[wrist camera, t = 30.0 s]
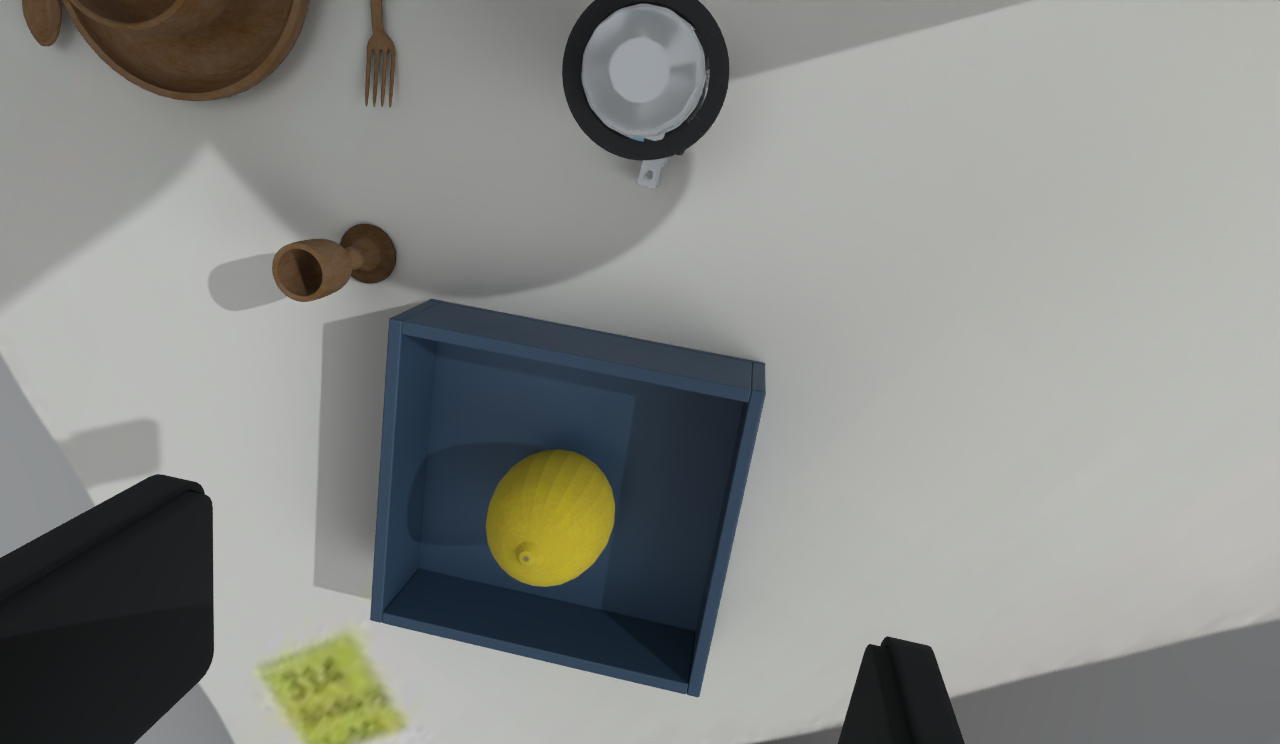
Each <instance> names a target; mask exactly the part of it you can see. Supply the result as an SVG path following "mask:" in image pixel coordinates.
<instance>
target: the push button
mask: <svg viewBox="0 0 1280 744" xmlns="http://www.w3.org/2000/svg"><path fill="white" fill-rule="evenodd" d="M682 18H683V19H684V20H683V19H682ZM685 20H686V21H687V22H688V23H690V24H691V25H692V26H693V27H694V28H695V29H696V30H694V29H692V27H691V26H690V25H689V24H688V23H687V22H686V21H685ZM709 68H710V80H709V86H708V87H706V79H705V78H706V73H705V72H706V71H707V70H708V69H709ZM562 76H563V86H564V92H565V96H566V100H567V103H568V105H569V108H570V111H571V113H572V115H573V117H574V118H575V120H576V122H577V123H578V125H579V126H580V128H581V129H582V130H583V131H584V133H585V134H586V135H587V136H588V137H589V138H590V139H591V140H592V141H594V142H595V143H596V144H597V145H599V146H600V147H602V148H603V149H605V150H606V151H608V152H610V153H612V154H615V155H617V156H620V157H623V158H627V159H633V160H643V162H642V165H641V169H640V172H639V176H638V179H637V184H638V185H641V186H644V187H647V188H651V189H653V188H655V187H657V186H658V182H659V179H660V175H661V172H662V168H663V165H665V164H666V165H667V163H668V160H669V156H673V155H675V154H677V155H683V153H684V150H685V149H687V148H689V147H690V146H691V145H693V144H694V143H696V142H697V141H698V140H699V139H700V138H701V137H702V136H703V135H704V134H705V133H706V132H707V131H708V130H709V128H710V127H711V126H712V124H713V123H714V121H715V120H716V118H717V116H718V114H719V112H720V110H721V108H722V106H723V103H724V100H725V97H726V93H727V89H728V82H729V58H728V52H727V48H726V44H725V41H724V38H723V35H722V33H721V30H720V28H719V26H718V24H717V23H716V21H715V19H714V18H713V16H712V15H711V13H710V12H709V11H708V10H707V9H706V7H705V6H704V5H703V4H702V3H701V2H699V1H698V0H595V1H594V2H593V3H591V4H590V5H589V6H588V7H587V9H586V10H585V11H584V12H583V13H582V15H581V16H580V17H579V19H578V20H577V22H576V24H575V25H574V27H573V29H572V31H571V33H570V36H569V38H568V41H567V44H566V48H565V52H564V57H563V69H562ZM694 116H695V117H694ZM693 117H694V118H693ZM692 118H693V119H692ZM691 119H692V120H691ZM620 133H622V134H624V135H626V136H629V137H631V139H630V138H628V137H626V136H624V135H622V134H620ZM649 170H650V171H652V173H653V177H652V179H649V178H648V177H647V172H648V171H649Z"/></svg>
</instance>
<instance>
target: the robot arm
mask: <svg viewBox="0 0 1280 744" xmlns="http://www.w3.org/2000/svg"><path fill="white" fill-rule="evenodd" d="M213 653H214V616H213V507H212V501H211V499H210V497H208V496H207V495H205V493H204V490H203V488H202V486H201V485H200V484H198V483H197V482H193V481H188V480H184V479H179V478H175V477H170V476H166V475H159V474H156V475H153V476H151V477H148V478H147V479H145V480H143V481H141V482H139V483H137V484H136V485H134V486H132V487H130V488H128V489H126V490H125V491H123V492H121V493H119V494H117V495H115V496H114V497H112V498H110V499H108V500H106V501H104V502H102V503H101V504H99V505H97V506H95V507H93V508H92V509H90V510H88V511H86V512H85V513H82V514H80V515H79V516H77V517H75V518H73V519H71V520H69V521H68V522H66V523H64V524H62V525H60V526H58V527H56V528H55V529H53V530H51V531H49V532H47V533H45V534H44V535H42V536H40V537H38V538H36V539H34V540H33V541H31V542H29V543H27V544H25V545H23V546H21V547H20V548H18V549H16V550H14V551H12V552H10V553H9V554H7V555H5V556H3V557H1V558H0V744H134V743H135V742H136V741H137V740H138V739H139V738H140V737H141V736H142V735H143V734H144V733H146V732H147V730H149V729H150V728H151V727H152V726H153V725H154V724H155V723H156V722H157V721H158V720H159V719H160V718H161V717H162V716H163V715H164V714H165V713H166V712H168V711H169V710H170V709H171V708H172V707H173V706H174V705H175V704H176V703H177V702H178V701H179V700H180V699H181V698H182V697H183V696H184V695H185V694H186V693H187V692H188V691H190V690H191V689H192V688H193V687H194V685H196V684H197V683H198V682H199V681H200V680H201V679H202V678H203V676H204V675H205V674H206V672H207V671H208V669H209V667H210V664H211V662H212V658H213ZM838 744H965V743H964V740H963V738H962V734H961V731H960V729H959V726H958V723H957V720H956V717H955V714H954V711H953V708H952V705H951V702H950V699H949V696H948V693H947V690H946V687H945V684H944V681H943V678H942V675H941V672H940V670H939V667H938V664H937V661H936V658H935V655H934V652H933V650H932V648H931V647H930V646H928V645H923V644H919V643H914V642H910V641H905V640H901V639H896V638H892V637H886V638H884V640H883V641H882V643H881V646H876V645H872V644H869V645H868V646H867V648H866V650H865V652H864V655H863V659H862V662H861V666H860V669H859V673H858V676H857V680H856V683H855V686H854V690H853V693H852V697H851V700H850V704H849V707H848V711H847V714H846V717H845V721H844V724H843V728H842V731H841V735H840V738H839V742H838Z"/></svg>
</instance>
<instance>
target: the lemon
mask: <svg viewBox="0 0 1280 744" xmlns="http://www.w3.org/2000/svg"><path fill="white" fill-rule="evenodd" d="M614 516H615V502H614V497H613V492H612V488H611V486H610V484H609V482H608V480H607V478H606V476H605V474H604V473H603V472H602V471H601V470H600V468H599V467H598V466H597V465H596V464H595V463H593V462H592V461H591V460H589V459H588V458H587V457H585V456H583V455H580V454H578V453H576V452H573V451H568V450H562V449H554V450H544V451H541V452H538V453H535V454H532V455H529V456H528V457H526V458H524V459H523V460H521V461H520V462H518V463H517V464H515V465H514V466H513V467H512V468H511V469H510V470H509V471H508V472H507V474H506V475H505V476H504V477H503V478H502V479H501V481H500V482H499V483H498V485H497V487H496V489H495V492H494V494H493V496H492V498H491V501H490V504H489V507H488V513H487V520H486V533H487V541H488V545H489V548H490V550H491V553H492V555H493V557H494V558H495V560H496V561H497V563H498V564H499V566H500V567H501V568H502V569H503V570H504V571H505V572H506V573H507V574H509V575H510V576H511V577H513V578H515V579H516V580H518V581H520V582H522V583H526V584H529V585H532V586H542V587H549V586H555V585H561V584H563V583H565V582H568V581H570V580H572V579H575V578H576V577H578V576H579V575H580V574H582V573H583V572H584V571H585V570H587V569H588V568H589V567H590V566H591V565H592V564H593V563H594V562H595V561H596V560H597V558H598V557H599V555H600V554H601V553H602V551H603V550H604V548H605V547H606V545H607V543H608V540H609V537H610V534H611V532H612V529H613V526H614Z"/></svg>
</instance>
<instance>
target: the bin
mask: <svg viewBox="0 0 1280 744" xmlns="http://www.w3.org/2000/svg"><path fill="white" fill-rule="evenodd" d="M765 394H766V388H765V363H761V362H756V361H751V360H746V359H741V358H735V357H730V356H725V355H720V354H715V353H709V352H704V351H699V350H694V349H689V348H683V347H678V346H673V345H668V344H663V343H657V342H652V341H647V340H642V339H637V338H632V337H626V336H621V335H616V334H611V333H606V332H600V331H595V330H590V329H585V328H580V327H574V326H569V325H564V324H559V323H554V322H549V321H543V320H538V319H533V318H528V317H523V316H517V315H512V314H507V313H502V312H497V311H491V310H486V309H481V308H476V307H471V306H465V305H460V304H455V303H450V302H445V301H440V300H434V299H430V300H429V301H426V302H424V303H422V304H420V305H418V306H416V307H414V308H411V309H409V310H407V311H405V312H403V313H401V314H399V315H396V316H394V317H392V318H390V319H389V332H388V348H387V364H386V380H385V396H384V411H383V427H382V443H381V459H380V474H379V490H378V506H377V522H376V538H375V553H374V569H373V585H372V601H371V617H370V620H372V621H376V622H382V623H385V624H389V625H393V626H397V627H402V628H406V629H410V630H414V631H419V632H423V633H427V634H431V635H436V636H440V637H444V638H448V639H453V640H457V641H461V642H465V643H470V644H474V645H478V646H482V647H487V648H491V649H495V650H499V651H504V652H508V653H512V654H516V655H521V656H525V657H529V658H533V659H538V660H542V661H546V662H550V663H555V664H559V665H563V666H567V667H572V668H576V669H580V670H584V671H589V672H593V673H597V674H601V675H606V676H610V677H614V678H618V679H623V680H627V681H631V682H635V683H639V684H644V685H648V686H652V687H656V688H661V689H665V690H669V691H673V692H678V693H682V694H686V693H687V695H690V696H695V697H699V696H700V691H701V686H702V682H703V677H704V673H705V668H706V664H707V659H708V655H709V650H710V645H711V641H712V636H713V632H714V627H715V623H716V618H717V613H718V609H719V604H720V600H721V595H722V591H723V586H724V581H725V577H726V572H727V568H728V563H729V559H730V554H731V549H732V545H733V540H734V536H735V531H736V527H737V522H738V517H739V513H740V508H741V504H742V499H743V495H744V490H745V485H746V481H747V476H748V472H749V467H750V463H751V458H752V453H753V449H754V444H755V440H756V435H757V431H758V426H759V422H760V417H761V412H762V408H763V403H764V399H765ZM554 449H562V450H568V451H573V452H576V453H578V454H580V455H583V456H585V457H587V458H588V459H589V460H591V461H592V462H593V463H595V464H596V465H597V466H598V467H599V468H600V470H601V471H602V472H603V473H604V474H605V476H606V478H607V480H608V482H609V484H610V486H611V488H612V492H613V497H614V502H615V516H614V526H613V529H612V532H611V534H610V537H609V540H608V543H607V545H606V547H605V548H604V550H603V551H602V553H601V554H600V555H599V557H598V558H597V560H596V561H595V562H594V563H593V564H592V565H591V566H590V567H589V568H588V569H587V570H585V571H584V572H583V573H582V574H580V575H579V576H578V577H576V578H575V579H572V580H570V581H568V582H565V583H563V584H561V585H555V586H549V587H542V586H532V585H529V584H526V583H522V582H520V581H518V580H516V579H515V578H513V577H511V576H510V575H509V574H507V573H506V572H505V571H504V570H503V569H502V568H501V567H500V566H499V564H498V563H497V561H496V560H495V558H494V557H493V555H492V553H491V550H490V548H489V545H488V541H487V533H486V520H487V513H488V507H489V504H490V501H491V498H492V496H493V494H494V492H495V489H496V487H497V485H498V483H499V482H500V481H501V479H502V478H503V477H504V476H505V475H506V474H507V472H508V471H509V470H510V469H511V468H512V467H513V466H514V465H515V464H517V463H518V462H520V461H521V460H523V459H524V458H526V457H528V456H529V455H532V454H535V453H538V452H541V451H544V450H554Z"/></svg>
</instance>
